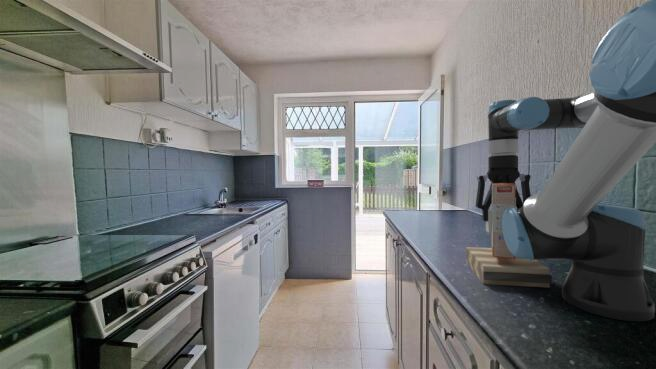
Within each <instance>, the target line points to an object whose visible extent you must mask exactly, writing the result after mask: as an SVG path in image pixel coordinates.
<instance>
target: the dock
mask: <svg viewBox="0 0 656 369" xmlns="http://www.w3.org/2000/svg"><path fill="white" fill-rule="evenodd" d="M465 262H466V263H467V265H468V266H469V268H470V269H471V270H472V271H473V273H474V274H475V275H476V276H477V278H478V279H479V281H480V282H481V284H483V285H496V286H497V285H498V286H514V287H515V286H516V287H517V286H518V287H533V288H534V287H535V288H548V289H549V288H550V287H551V286H550V284H553V279H552V278H553V276H552V275H551V269H550V268H549V267H548V266H546V265H545V264H543V263H541V262H540V261H539V260H530V259H520V258H517V257H516V258H515V259H510V258H501V257H493V254H492V247H474V246H473V247H472V246H471V247H469V246H467V247H465Z"/></svg>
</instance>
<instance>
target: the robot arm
mask: <svg viewBox="0 0 656 369" xmlns="http://www.w3.org/2000/svg"><path fill="white" fill-rule="evenodd" d="M591 64H593V66H592V68H591V69H589V79H590V84H591V86H592V88H593V89H592V90H590V91H587V92H585V93H583V94H582V93H581V94H579V95H577V96H574V97H562V98H549V99H547V98H545V99H542V98H541V97H537V96H530V97H529V96H528V97H524V98H521V99H520V100H515V99H504V100H503V99H502V100H498V101H494V102H491V103H490V104H489V106H488V114H487V120H488V122H487V123H488V126H487V127H488V128H487V129H488V155H489V157H488V164H487V165H488V168H487V169H488V171H487V172H486V174H483V175H477V176H476V179H477V183H478V184H477V191H476V198H475V207H476V208H477V209H479V210H482V221H484V222H485V231H486V233H489V234H491V231H492V211H491V209H490V207H491V203H492V183H514V184H516V181H517V180H518V179H519V181H520V188H521V194H522V198H521V195H520V194H519V193H520V192H519V191H518V187H517V185H516V209H515V208H512V209H507V210H506V211H505V212H504V214H503V218H502V229H503V235H504V239H505V242H506V245H507V247H508V249H509V251H510V252H511V253H512V254H513V255H514V256H515V257H517V258H520V259H530V260H537V261H539V260H541V261H543V260H545V261H546V260H551V261H552V260H553V261H555V260H557V261H559V260H560V261H561V260H563V261H567V260H568V261H569V260H570V261H571V267H570V270H569V272H568V273H567V276H566V278H565V280H564V283H563V284H562V287H561V296H562V297H561V298H562V299H563V300H564V301H565V302H566V303H568V304H570V305H571V306H573V307H575V308H577V309H579V310H582V311H584V312H588V313H590V314H594V315H597V316H601V317H604V318H609V319H613V320H620V321H627V322H628V321H629V322H647V321H651V320H653V319H655V313H656V310H655V309H656V308H655V303H654V302H653V298H652V296H651V293H650V291H649V288H648V286H647V284H646V281H645V279H644V266H645V265H644V262H645V259H644V258H645V240H646V237H645V236H646V231H647V228H646V227H645V226H646V225H645V215H644V213H643V212H642V211H641V210H639V209H637V208H634V207H630V206H629V207H627V206H621V205H615V204H607V203H606V204H604V203H601V201H602V200H603V199H604V198H606V196H608V194H609V193H610V192H611V191H612V190H613V189H614V188H615V186H616V185H617V184H618V183H619V182H620V181H621V180H622V179H623V178H624V177H625V176H626V175H627V174H628V172H629V171H630V170H631V169H632V168H633V167H634V166H635V165H636V164H637V163H638V161H640V160H641V159H642V158H643V156H644V155H645V154H647V152H648V151H649V150H650V149H651V147H653V146H654V144H656V0H648V1H646V2H644V3H642V4H641V5H639V6H638V5H637V6H636V7H634V8H632V9H631V10H629V11H628V12H627V13H625V14H624V15H622V16H621V17H620V18H619V19H618V20H617V21H616V22H615V23H614V24H613V25H612V26H611V27H610V28H609V30H608V31H607V32H606V33H605V34H604V35H603V37H602V38H601V40H600V41H599V43H598V45H597V47H596V49H595V50H594V52H593V56H592V58H591ZM578 128H579V129H581V131H580V132H579V133H578V135H577V137H576V138H575V140H574V141H573V143H572V144H571V145H570V146H569V148H568V151H566V153H565V155H564V156H563V158H562V160H561V161H560V162H559V164H558V165H557V167H556V168H555V170H554V172H552V175H551V176H550V177H549V179H548V181H547V182H546V183H545V185H544V186H543V189H542V190H541V191H540V193H536V194H533V195H531V188H530V180H531V177H532V176H531V175H530V174H523V173H520V171H519V156H518V155H517V154H518V153H519V132H521V131H536V130H555V129H556V130H557V129H578ZM487 179H488V180H489V181H490V185H489V190H488V192H487V194H486V197H485V199H484V196H485V188H486V187H485V186H486V182H487V181H488V180H487ZM489 209H490V210H489Z"/></svg>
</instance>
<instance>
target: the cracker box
mask: <svg viewBox="0 0 656 369" xmlns="http://www.w3.org/2000/svg"><path fill="white" fill-rule="evenodd" d="M491 183H492V182H491ZM516 186H517V184H516V183H515V184H514V183H492V203H491V205H490V207H491V209H490V211H492V231H491V233H490V234H491V235H490V236H491V240H490V241H491V248H492V254H493V257H501V258H510V259H515V258H516V257H515V256H514V255H513V254H512V253H511V252H510V251H509V249H508V247H507V245H506V242H505V239H504V235H503V229H502V218H503V214H504V212H505V211H506V210H507V209H512V208H515V209H517V207H516Z"/></svg>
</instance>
